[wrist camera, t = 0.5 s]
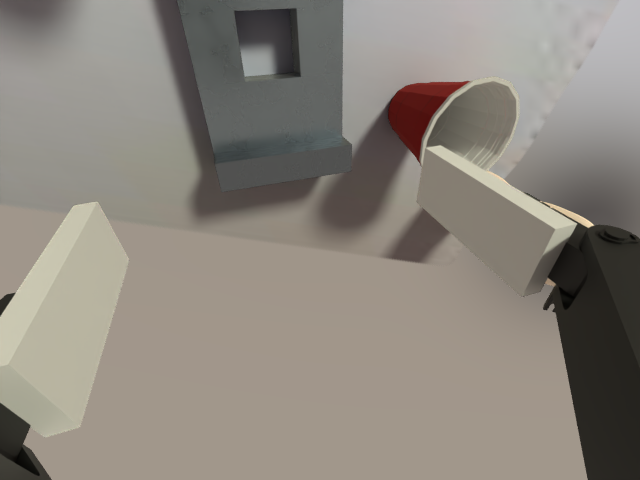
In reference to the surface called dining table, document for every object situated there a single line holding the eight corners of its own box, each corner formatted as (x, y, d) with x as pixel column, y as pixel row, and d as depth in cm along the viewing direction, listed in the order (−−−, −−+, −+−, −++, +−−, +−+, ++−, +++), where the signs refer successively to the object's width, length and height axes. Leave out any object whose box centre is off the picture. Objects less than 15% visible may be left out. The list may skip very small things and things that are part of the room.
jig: (143, -149, 22) (127, -192, 18) (330, -137, 25) (359, -172, 21) (219, 169, 36) (221, 192, 32) (333, 152, 39) (351, 171, 35)
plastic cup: (396, 169, 43) (449, 211, 34) (352, 109, 37) (402, 141, 28) (460, 111, 41) (535, 139, 32) (425, 37, 35) (506, 45, 25)
